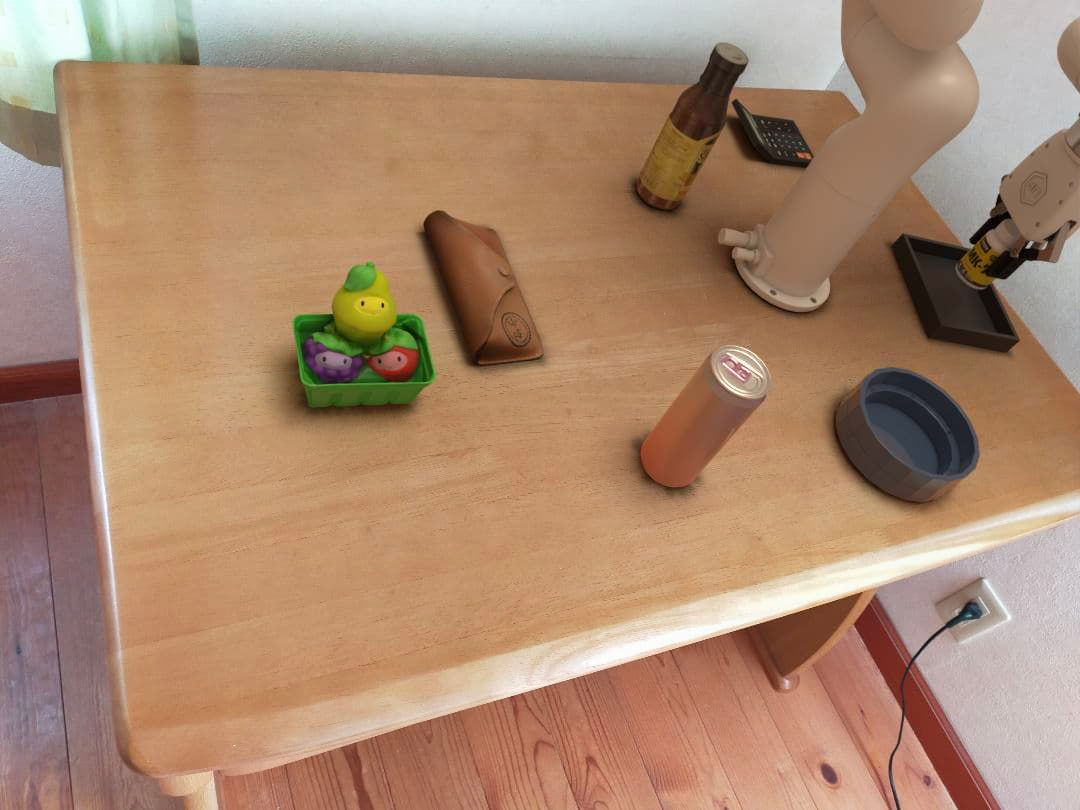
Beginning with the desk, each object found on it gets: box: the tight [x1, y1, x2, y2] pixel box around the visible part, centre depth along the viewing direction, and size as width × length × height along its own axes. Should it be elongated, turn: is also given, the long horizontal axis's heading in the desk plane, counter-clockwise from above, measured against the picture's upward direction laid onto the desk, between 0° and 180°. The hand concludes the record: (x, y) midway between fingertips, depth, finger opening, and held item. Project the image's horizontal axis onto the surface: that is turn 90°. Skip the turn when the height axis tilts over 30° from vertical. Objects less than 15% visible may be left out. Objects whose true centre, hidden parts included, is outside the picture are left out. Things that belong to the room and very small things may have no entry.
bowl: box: [835, 366, 981, 503], centre depth 94 cm, size 14×14×5 cm
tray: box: [891, 232, 1021, 353], centre depth 115 cm, size 16×12×2 cm
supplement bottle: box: [955, 219, 1021, 289], centre depth 110 cm, size 5×5×8 cm
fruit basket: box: [291, 261, 437, 409], centre depth 75 cm, size 11×9×11 cm
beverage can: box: [640, 344, 772, 488], centre depth 79 cm, size 6×6×15 cm
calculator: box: [731, 98, 815, 169], centre depth 124 cm, size 9×12×3 cm
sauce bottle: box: [635, 41, 750, 211], centre depth 102 cm, size 7×6×20 cm
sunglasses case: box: [422, 209, 545, 366], centre depth 89 cm, size 18×7×7 cm, turn 21°
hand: (987, 259), depth 111 cm, fingers closed on supplement bottle, 4 cm apart
